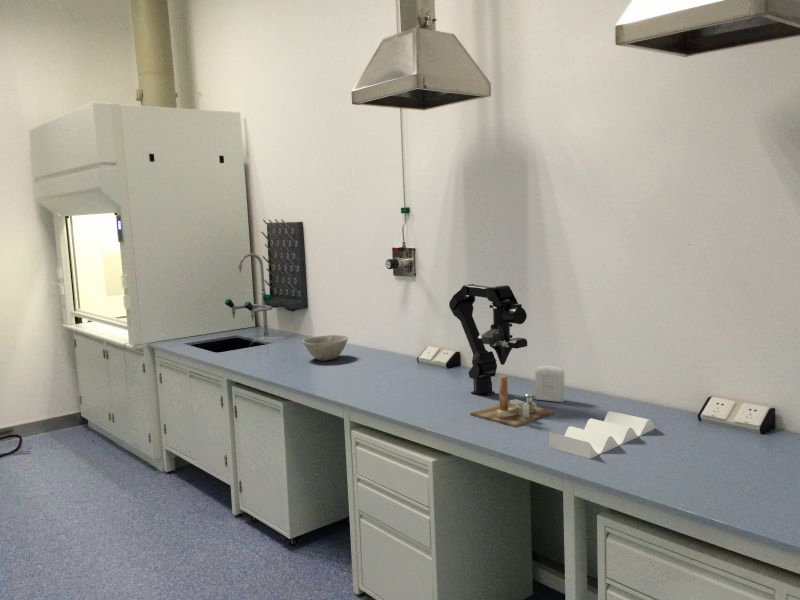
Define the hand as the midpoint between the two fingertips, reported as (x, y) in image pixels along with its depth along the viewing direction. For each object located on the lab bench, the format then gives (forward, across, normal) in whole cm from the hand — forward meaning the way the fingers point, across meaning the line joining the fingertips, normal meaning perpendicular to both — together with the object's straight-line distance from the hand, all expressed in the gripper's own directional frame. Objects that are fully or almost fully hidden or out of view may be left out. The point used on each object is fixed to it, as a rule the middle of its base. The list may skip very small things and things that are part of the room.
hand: (502, 364), depth 237 cm
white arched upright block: (+13, +12, +11) cm, 21 cm away
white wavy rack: (+14, +48, -11) cm, 52 cm away
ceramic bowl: (+13, -113, -1) cm, 114 cm away
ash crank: (+12, +16, -12) cm, 24 cm away
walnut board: (+13, +13, -11) cm, 22 cm away
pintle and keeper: (+12, +19, -10) cm, 25 cm away
